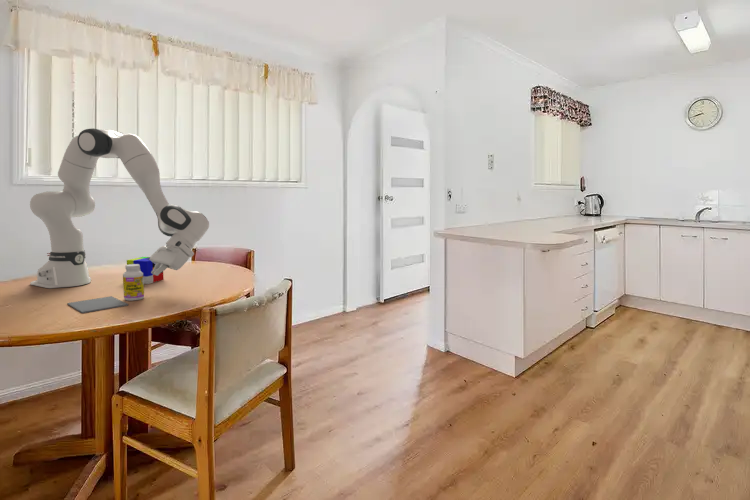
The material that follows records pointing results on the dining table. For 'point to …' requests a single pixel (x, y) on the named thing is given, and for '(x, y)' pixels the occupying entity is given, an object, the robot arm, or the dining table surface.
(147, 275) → the puzzle toy
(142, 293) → the supplement bottle
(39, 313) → the dining table surface
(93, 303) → the mat
